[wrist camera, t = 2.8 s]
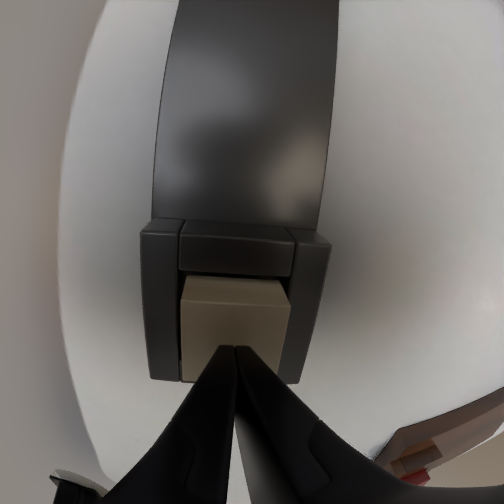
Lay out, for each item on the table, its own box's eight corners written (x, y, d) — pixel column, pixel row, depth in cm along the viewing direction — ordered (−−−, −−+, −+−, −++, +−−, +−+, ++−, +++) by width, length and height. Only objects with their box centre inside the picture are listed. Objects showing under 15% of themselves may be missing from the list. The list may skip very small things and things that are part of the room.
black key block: (283, 336, 14) (300, 384, 11) (161, 330, 13) (148, 379, 10) (327, -27, 8) (354, -63, 5) (200, -45, 7) (197, -88, 4)
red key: (409, 480, 18) (415, 492, 17) (386, 489, 18) (392, 502, 16) (424, 466, 17) (431, 478, 16) (400, 475, 17) (407, 489, 15)
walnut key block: (485, 427, 26) (497, 442, 22) (351, 481, 22) (361, 508, 18) (520, 377, 22) (535, 393, 19) (389, 431, 19) (407, 464, 15)
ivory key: (267, 351, 10) (275, 383, 9) (186, 348, 10) (182, 381, 8) (279, 279, 9) (291, 306, 8) (186, 274, 9) (180, 300, 7)
